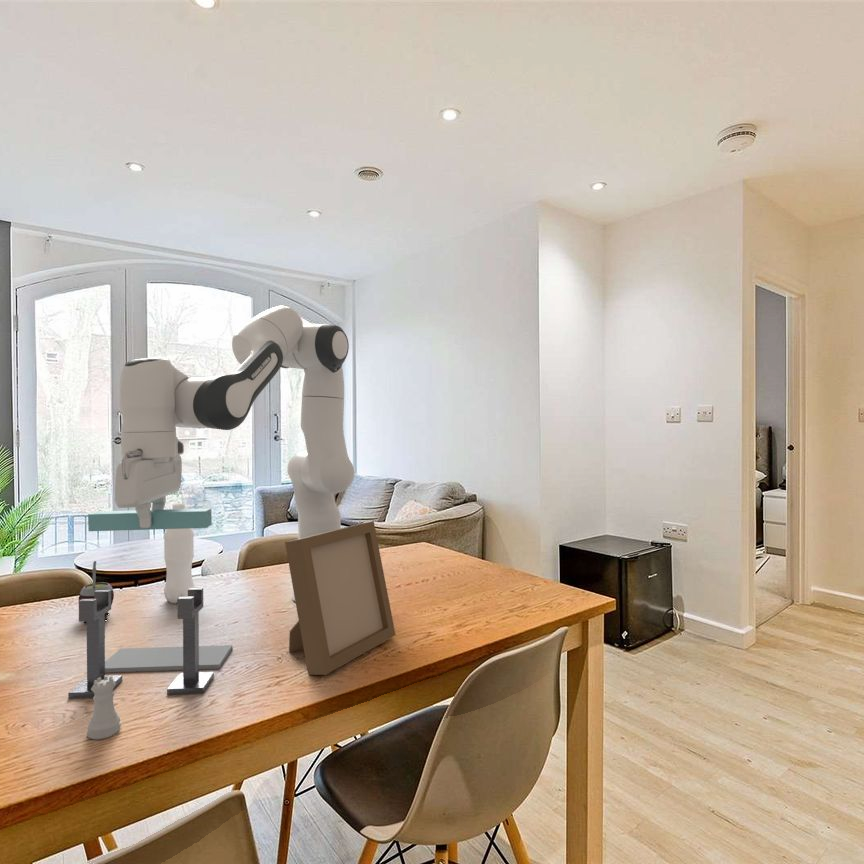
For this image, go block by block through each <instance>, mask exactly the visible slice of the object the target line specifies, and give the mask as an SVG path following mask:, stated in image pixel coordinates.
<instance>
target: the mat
mask: <svg viewBox="0 0 864 864" xmlns="http://www.w3.org/2000/svg"><path fill="white" fill-rule="evenodd" d="M232 650H233V645H232V644H227V645H226V644H225V645H224V644H223V645H199V670H215V669H216V670H219V669H220V668H222V666H223V664H224V663H225V661H226V660H227V658H228V656H229V655H230V653H231V651H232ZM136 671H137V672H160V671H161V672H163V671H183V646H165V647H163V646H162V647H161V646H160V647H159V646H158V647H128V648H126V647H125V648H119V649H118V650H117V651H116V652H115V653H114V654H113V655H111V656H110V657H109V658H108V659H107V660H105V674H106V673H129V672H130V673H133V672H136Z"/></svg>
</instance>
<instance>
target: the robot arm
mask: <svg viewBox="0 0 864 864" xmlns="http://www.w3.org/2000/svg"><path fill="white" fill-rule="evenodd" d="M231 340H232V341H231V347H232V352H233V355H234V357H235V359H236V361H237V362H238V363H239V366H238V368H237V369H236V370H235V371H233V372H231V373H228V374H223V375H216V376H205V377H201V376H200V377H191V375H188V374H186V373H184V372H182V371H180V370H179V369H178V368H176V367H175V366H174V365H173V364H172V362H171V360H170V359H169V358H167V357H163V356H156V357H145V358H136V359H131V360H129V361H127V362H126V363H125V364H124V365H123V366H122V370H121V374H120V379H119V380H120V381H119V408H120V411H121V414H122V424H121V428H120V447H121V460H120V462H119V463H118V464H117V466H116V470H115V480H114V481H115V483H114V502H115V504H116V507H117V508H121V509H122V508H125V509H126V508H127V509H130V508H131V509H132V508H135V510H136V512H137V514H138V517H139V522H140V527H141V528H149V527H151V526H152V525H153V516H151V511H150V510H165V506H166V503H167V502H166V501H167V499H166V498H167V496H169V495H170V496H171V495H172V494H174V493H178V492H179V491H180V489H181V485H182V476H183V475H182V471H183V470H182V469H183V468H182V467H183V462H182V460H183V459H182V456H181V455H183V454H184V453H185V452H184V451H185V445H184V443H183V442H182V441H181V440H179V439H178V437H177V428H181V429H182V428H185V429H187V428H188V429H192V428H193V429H211V430H212V429H213V430H222V431H231V430H234V429H236V428H237V427H240V425H242V424H243V423H244V421H245V419H247V416H248V414H249V413H250V411H251V408H252V406H253V404H254V402H255V401H256V399H257V398H258V397H259V396H260V394H261V393H262V391H263V390H264V389H265V388H266V387H267V386H268V384H269V383H270V382H271V380H272V379H273V378H274V377H275V376H276V374H277V373H278V372H279V371H280V368H282V369H291V368H292V369H298V370H299V369H300V370H303V373H304V377H303V383H302V391H301V392H302V393H301V407H300V408H301V409H300V410H301V411H300V428H301V431H302V433H303V437H304V441H305V447H306V449H304V450H302V451H299V452H296V453H295V454H294V455H293V456H292V457H291V458H290V459H289V461H288V463H287V475H288V477H289V479H290V481H291V484H292V489H293V494H294V495H293V496H294V500H295V505H296V510H297V512H296V513H297V530H298V531H297V536H298V537H297V539H300V538H304V537H308V536H312V535H316V534H320V533H324V532H328V531H332V530H336V529H340V528H342V524H341V518H342V517H341V512H340V510H339V508H338V505H337V503H336V500H335V495H334V494H339V493H342V492H344V491H346V490H348V489H349V488H350V486H351V485H352V483H353V481H354V478H355V468H354V465H353V463H352V461H351V459H350V457H349V455H348V449H347V444H346V440H345V438H346V437H345V433H344V411H345V410H344V409H345V380H344V379H345V378H344V371H343V364H344V363H345V361H346V359H347V357H348V353H349V350H350V349H349V346H350V345H349V339H348V336H347V334H346V333H345V330H343V328H342V327H341V326H339V325H336V324H332V323H323V324H321V323H304V322H303V319H302V317H301V316H300V315H299V313H298V312H297V311H296V310H294V309H293V308H291V307H289V306H286V305H278V306H274V307H271V308H269V309H266V310H265V311H262V312H260V313H259V314H257V315H256V316H254V317H253V318H251V319H250V320H248V321H246V322H245V323H244V324H243V325H242V326H240V328H238V329H237V330H236V332H235V334H234V335H233V337H232V339H231ZM291 599H292V600H293V601H294V602H295V596H294V591H293V592H292V596H291Z"/></svg>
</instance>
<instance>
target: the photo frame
mask: <svg viewBox="0 0 864 864" xmlns="http://www.w3.org/2000/svg"><path fill="white" fill-rule="evenodd" d="M284 543H285V550H286V556H287V560H288V561H287V562H288V566H289V572H290V578H291V584H292V588H293V589H292V590H293V592H294V596H295V601H294V602H295V607H296V612H297V617H298V620H297V622H296V623H294V625H293V626H292V628H291V629H290V630H289V635H288V636H289V638H288V641H289V642H288V643H289V645H288V652H289V653H294V652H299V651H303V652H304V657H305V658H304V659H305V665H306V668H307V669H306V670H307V674H308V675H309V676H311V675H313V676H317V675H318V676H319V675H321V676H323V675H324V676H325V675H327V674H329V673H331V672H333V671H334V670H336V669H338V668H340V667H341V666H343V665H345V664H347V663H348V662H350V661H352V660H354V659H356V658H358V657H360V656H362V655H363V654H365V653H366V652H368V651H370V650H372V649H374V648H375V647H377V646H379V645H381V644H382V643H385V642H386V641H388V640H389V639H391V638H393V637H394V636H396V629H395V624H394V619H393V615H392V610H391V605H390V599H389V594H388V588H387V583H386V578H385V572H384V567H383V563H382V557H381V552H380V547H379V542H378V536H377V531H376V527H375V521H374V520H372V521H367V522H362V523H358V524H352V525H349V526H344V527H341V528H340V529H336V530H332V531H328V532H324V533H320V534H316V535H312V536H308V537H304V538H300V539H298V538H296V539H293V540H289V541H285V542H284Z"/></svg>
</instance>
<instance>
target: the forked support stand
mask: <svg viewBox="0 0 864 864" xmlns="http://www.w3.org/2000/svg"><path fill="white" fill-rule="evenodd" d="M176 604H177V605H176V606H177V620H182V645H183V646H182V647H183V670H182V671H183V672H179V674H178V675H177V676H176V677H175V678H174V679H173V681H172V682H171V683H170V684H169V686H168V687H167V689H166V695H168V696H172V695H194V694H195V695H196V694H200V695H201V694H204V693H205V691H206V690H207V688H208V687H209V686H210V684H211V682H212V681H213V680H214V678H215V671H208V672H207V671H202V672H201V671H200V669H199V646H200V644H199V643H200V640H199V639H200V636H199V632H200V630H199V629H200V628H199V627H200V626H199V624H200V623H199V619H200V618H199V615H200V613H199V612H200V611H201V610H202V609H203V608H204V587H194V588H189V589H188V597H179V598H178V599H177V603H176ZM111 610H112V605H111V590H96V591H95V592H94V599H81V600H80V601H79V600H78V622H81V623H82V622H83V623H84V622H86V621H87V624H86V677H85V678H83V679H82V680H81V681H80V682H79V683H78V684H76V685H75V686H74V687H73V688H72V689H71V690H70V691H69V692H68V694H67V695H68V697H67V699H93V697H94V695H95V693H94V692H93V691H92V690H91V688H92V686H93V685H94V681H95V680H97V679H98V678H100V677H101V680H104V676H106V673H105V661H106V644H105V643H106V639H105V637H106V633H105V632H106V631H105V630H106V629H105V627H106V625H105V622H106V621H105V613H106V612H108V613H109V611H111ZM107 676H108V679H109V677H110V676H112V677H113V681H115V682H116V685H115V687H114V688H113V690H114V689H115V688H117V687H118V685H120V683H122V682H123V675H122V674H114V675H113V674H112V675H107Z"/></svg>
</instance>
